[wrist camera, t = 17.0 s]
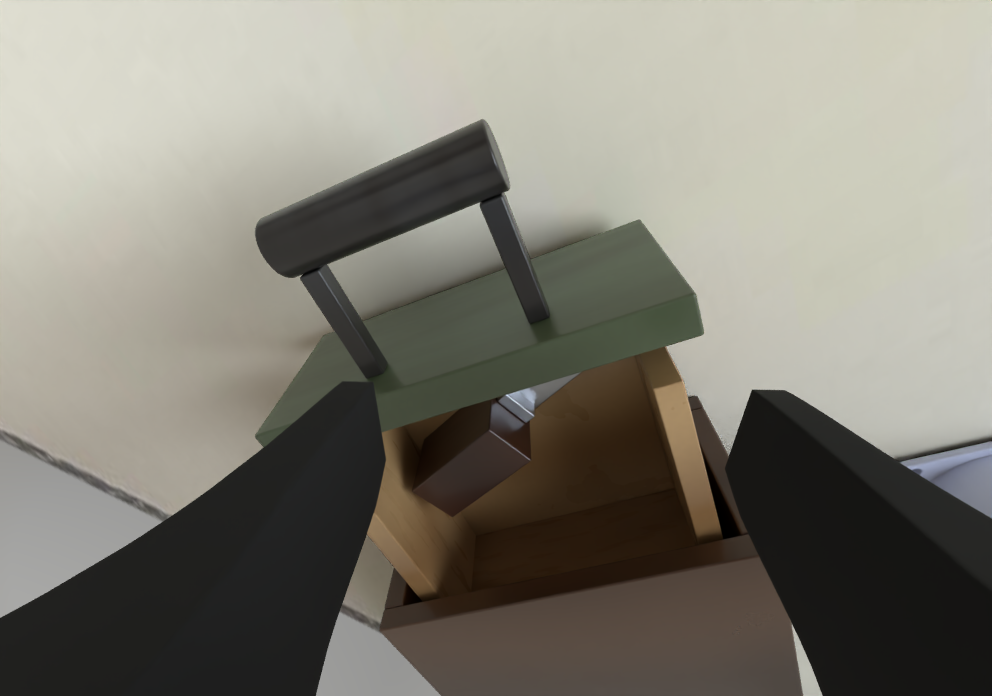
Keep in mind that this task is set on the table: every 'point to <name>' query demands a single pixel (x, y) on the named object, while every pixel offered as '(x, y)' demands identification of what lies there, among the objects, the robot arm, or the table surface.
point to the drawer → (506, 376)
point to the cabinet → (614, 621)
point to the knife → (479, 448)
